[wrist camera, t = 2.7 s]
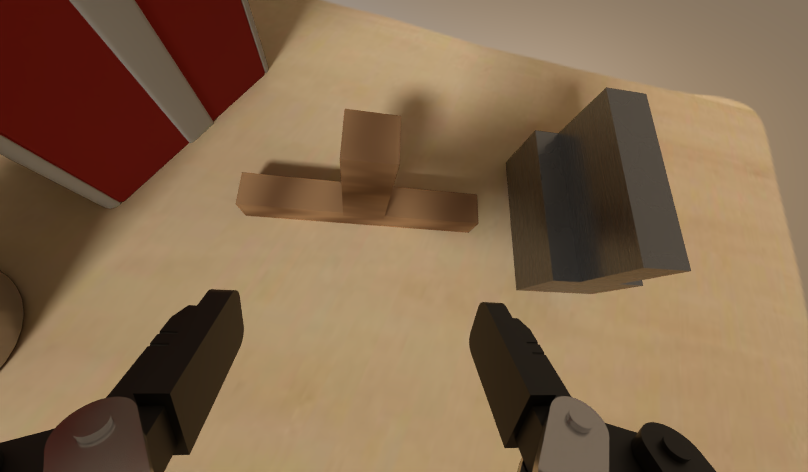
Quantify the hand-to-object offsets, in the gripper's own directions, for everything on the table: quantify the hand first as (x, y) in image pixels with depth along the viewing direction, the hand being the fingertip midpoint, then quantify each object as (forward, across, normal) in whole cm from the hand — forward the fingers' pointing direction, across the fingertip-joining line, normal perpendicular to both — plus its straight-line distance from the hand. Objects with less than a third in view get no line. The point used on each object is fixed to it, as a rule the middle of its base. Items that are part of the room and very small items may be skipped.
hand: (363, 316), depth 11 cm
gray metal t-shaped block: (+16, -16, +3) cm, 23 cm away
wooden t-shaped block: (+16, 0, +3) cm, 16 cm away
